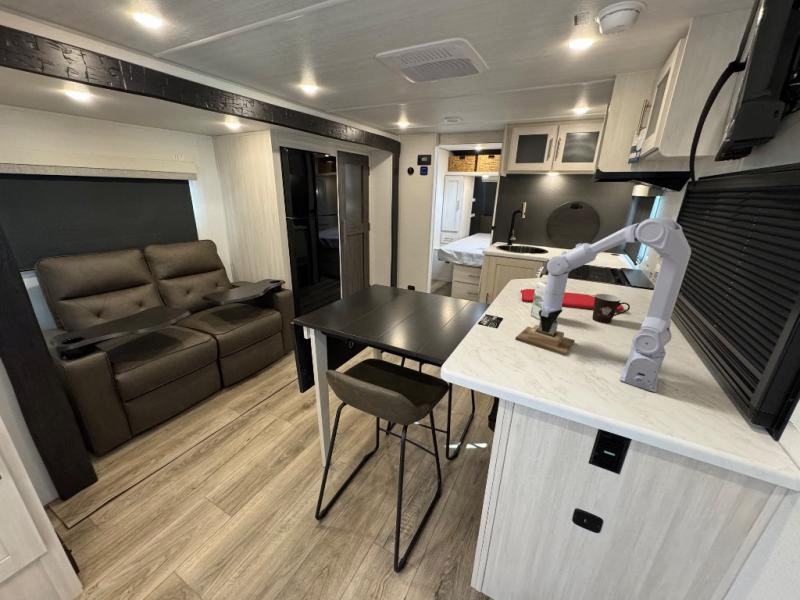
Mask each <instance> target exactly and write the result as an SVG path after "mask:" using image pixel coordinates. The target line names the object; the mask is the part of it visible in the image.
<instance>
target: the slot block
mask: <svg viewBox="0 0 800 600" xmlns="http://www.w3.org/2000/svg"><path fill="white" fill-rule="evenodd" d="M538 329H539V324H538V325H537V324H535V325H534V326H533V327H530V326H527V327H526V328H524V329H523V330H522V331H521V332H520V333H519V334H518V335H517V336H515V341H517V342H521V343H524V344H527V345H530V346H533V347H536V348H539V349H543V350H546V351H549V352H552V353H555V354H558V355H561V356H564V357H565V356H566V355H567V353H569V350H571V348H572V346H574V344H573V343H575V341H576V340H575V339H572V338H570V337H565V336H564V335H565V332H562V331H560V330H557V331H556V335H555V337H552V336H548V335H545V334H541V333H538Z"/></svg>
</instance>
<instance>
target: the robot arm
mask: <svg viewBox="0 0 800 600" xmlns="http://www.w3.org/2000/svg"><path fill="white" fill-rule="evenodd" d="M637 242H639V243H641V244H642V245H644V246H647V247H650V248H651V249H653V250H654V251H655V252H656V253H657V254H658V255H659V256H660V257H661V259H662V260H661V264H660V267H659V271H658V275H657V277H656V281H655V284H654V288H653V291H652V295H651V299H650V301H649V305H648V308H647V309H648V310H647V312H646V315H645V318H644V320H643V322H642V324H641V326H640V328H639V329H640V330H639V331H638V332H636V334H634V336H633V338H632V345H631V347H630V352H629V354H628V358H627V361H626V364H625V365H624V366H623V368H622V371H621V374H620V377H619V381H620V382H623V383H626V384H629V385H631V386H634V387H638V388H641V389H644V390H646V391H650V392H653V393H656V392H657V389H658V380H659V379H658V378H659V373H660V370H661V367H662V364H663V361H664V359H665V356H666V354H667V352H666V349H665V346H666V345H667V344H668V343H669V342H671V340H672V332H671V328H670V327H671V325H672V322H671V321H672V320H671V319H672V315H673V313H674V312H673V311H674V308H675V305H676V303H677V299H678V296H679V293H680V289H681V287H682V283H683V280H684V277H685V274H686V272H687V271H686V270H687V267H688V264H689V261H690V258H691V254H692V248H691V246H690V244H689V242H688V240H687V238H686V236H685V234H684V231H683V227H682V225H680V224H679V223H678V222H676V221H675V220H674V219H673V218H670V217H667V216H659V217H656V218H655V217H654V218H647V219H645V220H642V222H637V223H634V224H631V225H628V226H626V227H623V228H622V229H619V230H618V231H616V232H613V233H612V234H609V235H608V236H606V237H604V238H602V239H600V240H598V241H596V242H594V243H592V244H591V243H587V242H585V243H582V242H580V243H578V244H575V247H574V248H572V249H570V250H568V251H562V252H561V253H560V254H561V255H559V256H552V258H550V259H549V260H548V261H547V263H546V270H547V272H548V273H547V280H546V282H547V284H546V289H545V294H544V299H543V302H542V301H540V302H539V305H542V310H540V311H539V316H540V319H541V327H542V331H544V332H547V333H548V332H549V331H550V329H551V326H552V324H553V321H554V320H557V319H558V318H559V316H560V314H561V313H562V312H563V306H562V302H563V297H564V293H565V292H566V288H567V282H568V277H569V273H570V272H571V271H573V270H575V269H577V268H579V267H582V266H585V265H586V264H589V263H591V262H593V261H595V260H596V259H597V258H596V257H597V256H598V254H600V253H603V252H606V251H607V250H610V249H613V248H615V247H618V246H620V245H622V244H625V243H637Z"/></svg>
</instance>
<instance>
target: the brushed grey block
mask: <svg viewBox="0 0 800 600" xmlns="http://www.w3.org/2000/svg"><path fill="white" fill-rule="evenodd" d="M558 325H559V320H557V319H556V320H554V321H553V324H552V326H551V329H550V331H549V332H548V333H547V332H544V331H542V327H541V319H540V320H539V324H538V326H539V329H538V333H541V334H545V335H548V336H552V337H555V335H556V331H558V330H557V329H558Z"/></svg>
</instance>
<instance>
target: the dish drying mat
mask: <svg viewBox="0 0 800 600" xmlns="http://www.w3.org/2000/svg"><path fill="white" fill-rule="evenodd" d="M521 293H522V298H521V302H522V301H523V303H529V302H530V303H531V304H533V299H534V293H535V289H533V288H525V289H521V290H520V294H521ZM594 300H595V294H594V295H593V294H584V293H575V292H566V291H565V293H564V297H563V302H562V307H566V308H578V309H579V308H580V309H589V310H593V309H594ZM530 303H529V304H530ZM624 309H625V308H624V306H623V304H621V305H620V306H618V307H617V309H616V312H624V311H625V310H624Z"/></svg>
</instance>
